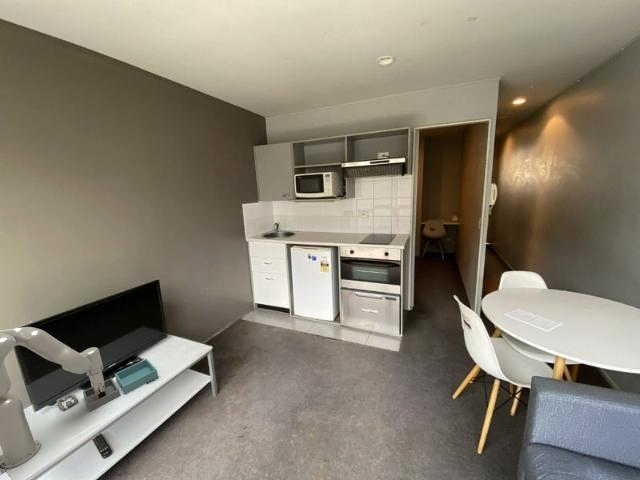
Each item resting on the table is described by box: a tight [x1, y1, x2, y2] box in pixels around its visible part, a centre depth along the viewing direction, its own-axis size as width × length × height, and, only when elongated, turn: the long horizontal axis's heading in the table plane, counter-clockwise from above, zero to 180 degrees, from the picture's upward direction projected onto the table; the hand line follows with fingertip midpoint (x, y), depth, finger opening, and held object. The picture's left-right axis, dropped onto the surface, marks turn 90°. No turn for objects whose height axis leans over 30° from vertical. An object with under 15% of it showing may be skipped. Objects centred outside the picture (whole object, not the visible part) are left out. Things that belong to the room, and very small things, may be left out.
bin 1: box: [82, 377, 121, 412], centre depth 159 cm, size 14×16×5 cm
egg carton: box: [56, 393, 79, 411], centre depth 155 cm, size 11×8×4 cm
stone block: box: [95, 387, 107, 400], centre depth 158 cm, size 4×4×6 cm
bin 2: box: [114, 358, 159, 395], centre depth 172 cm, size 18×18×6 cm
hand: (101, 396), depth 158 cm, fingers closed on stone block, 4 cm apart
